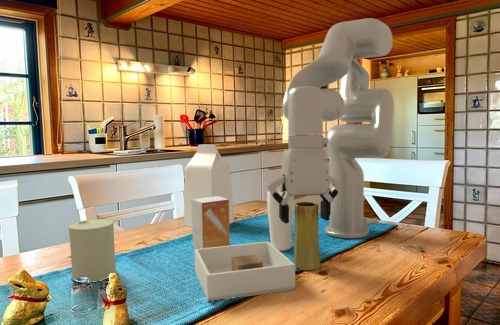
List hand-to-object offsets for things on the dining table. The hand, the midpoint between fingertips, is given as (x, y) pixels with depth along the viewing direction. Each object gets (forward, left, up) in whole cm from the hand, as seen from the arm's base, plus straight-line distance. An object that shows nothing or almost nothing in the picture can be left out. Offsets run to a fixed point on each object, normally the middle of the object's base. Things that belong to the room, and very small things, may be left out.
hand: (305, 220), depth 89 cm
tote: (+15, +2, -11) cm, 19 cm away
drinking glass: (0, -15, -11) cm, 18 cm away
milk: (+13, -47, -11) cm, 50 cm away
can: (+45, -11, -11) cm, 48 cm away
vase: (-1, -1, -11) cm, 11 cm away
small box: (+17, -22, -11) cm, 30 cm away
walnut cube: (+15, +6, -10) cm, 20 cm away
